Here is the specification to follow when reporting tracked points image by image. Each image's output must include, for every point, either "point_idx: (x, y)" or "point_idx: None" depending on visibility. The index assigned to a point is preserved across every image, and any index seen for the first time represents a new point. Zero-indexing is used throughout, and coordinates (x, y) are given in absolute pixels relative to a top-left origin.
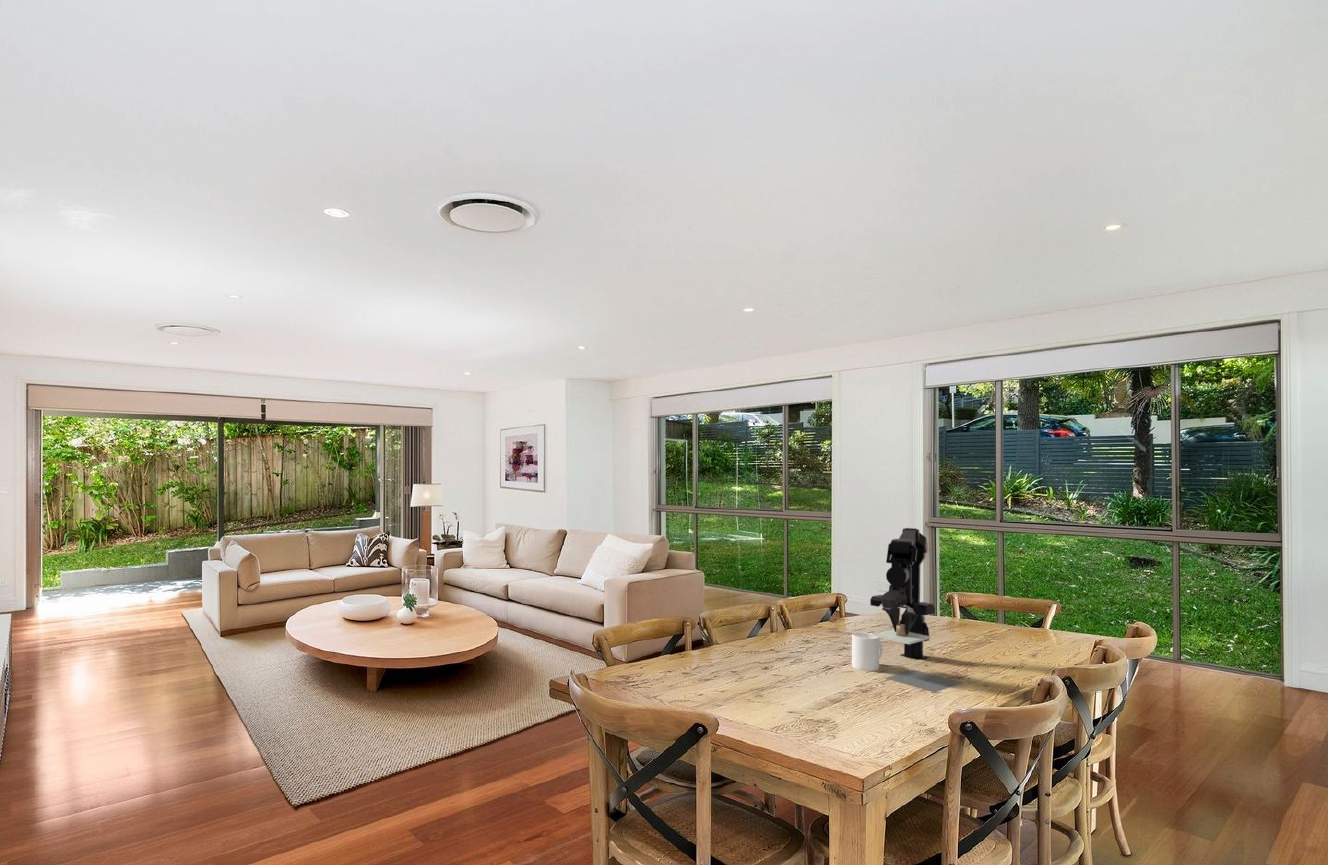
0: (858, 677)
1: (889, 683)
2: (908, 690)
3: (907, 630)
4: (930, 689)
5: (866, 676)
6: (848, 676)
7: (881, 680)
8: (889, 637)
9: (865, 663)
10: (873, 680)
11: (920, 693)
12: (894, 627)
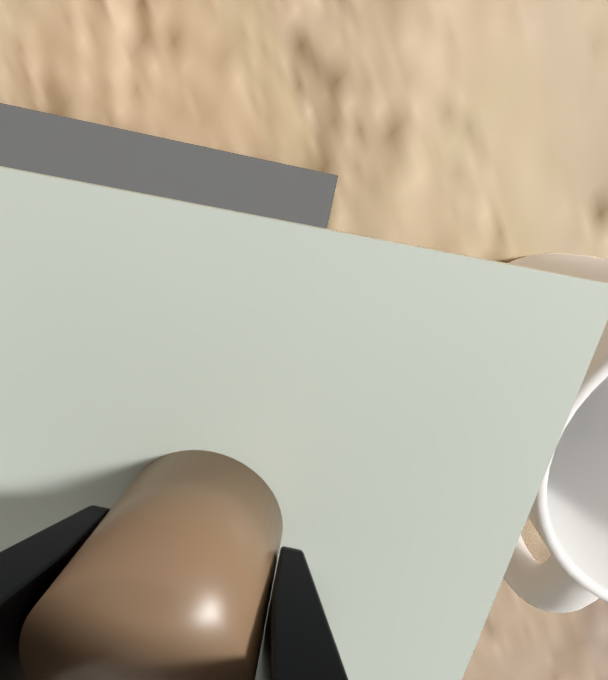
0: (512, 76)
1: (274, 102)
2: (111, 29)
3: (23, 543)
4: (9, 137)
5: (468, 154)
6: (590, 38)
7: (345, 135)
8: (286, 248)
9: (533, 265)
10: (391, 86)
11: (28, 23)
12: (297, 604)
